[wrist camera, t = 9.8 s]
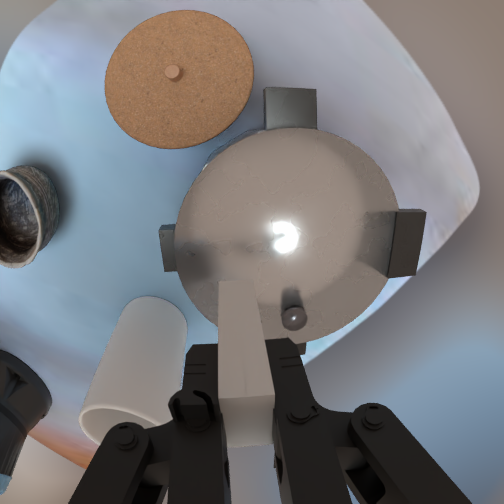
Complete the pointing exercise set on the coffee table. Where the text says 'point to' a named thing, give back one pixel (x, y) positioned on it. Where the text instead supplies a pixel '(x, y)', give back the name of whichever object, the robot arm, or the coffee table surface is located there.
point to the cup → (137, 369)
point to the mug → (25, 214)
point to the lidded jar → (179, 79)
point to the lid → (295, 231)
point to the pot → (275, 116)
